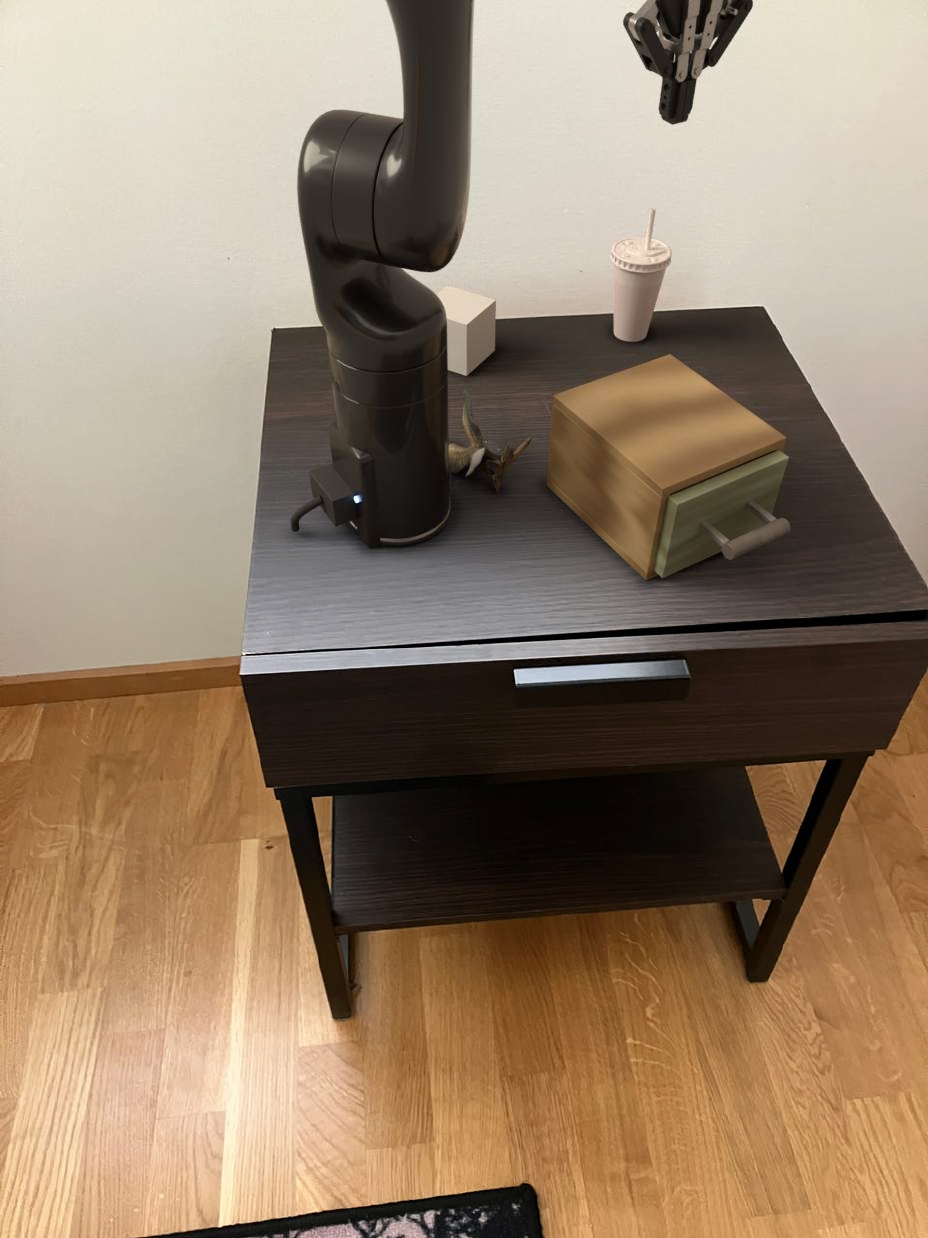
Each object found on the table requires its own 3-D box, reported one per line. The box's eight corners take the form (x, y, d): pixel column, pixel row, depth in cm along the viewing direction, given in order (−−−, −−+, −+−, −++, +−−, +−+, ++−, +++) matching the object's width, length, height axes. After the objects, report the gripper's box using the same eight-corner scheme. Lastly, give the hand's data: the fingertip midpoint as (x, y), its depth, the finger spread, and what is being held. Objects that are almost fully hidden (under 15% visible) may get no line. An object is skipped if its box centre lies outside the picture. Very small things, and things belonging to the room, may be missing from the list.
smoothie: (656, 350, 105) (677, 225, 95) (598, 344, 106) (612, 219, 96) (660, 321, 110) (680, 198, 99) (604, 315, 110) (618, 192, 100)
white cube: (419, 360, 104) (417, 309, 100) (448, 335, 108) (447, 285, 103) (466, 376, 102) (466, 324, 98) (495, 350, 105) (496, 299, 101)
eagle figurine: (541, 455, 90) (473, 402, 93) (525, 425, 84) (453, 369, 87) (488, 516, 91) (422, 462, 94) (468, 491, 84) (398, 433, 87)
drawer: (802, 559, 81) (827, 485, 75) (695, 610, 77) (714, 535, 71) (667, 449, 91) (680, 377, 86) (567, 489, 87) (574, 416, 82)
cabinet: (760, 528, 85) (787, 437, 78) (645, 580, 80) (663, 488, 73) (654, 442, 94) (670, 353, 87) (546, 485, 89) (553, 394, 82)
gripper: (738, -127, 81) (702, 94, 94) (611, -109, 77) (591, 121, 89) (801, -111, 77) (755, 119, 89) (670, -90, 72) (641, 149, 85)
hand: (673, 120), depth 89 cm, fingers closed
